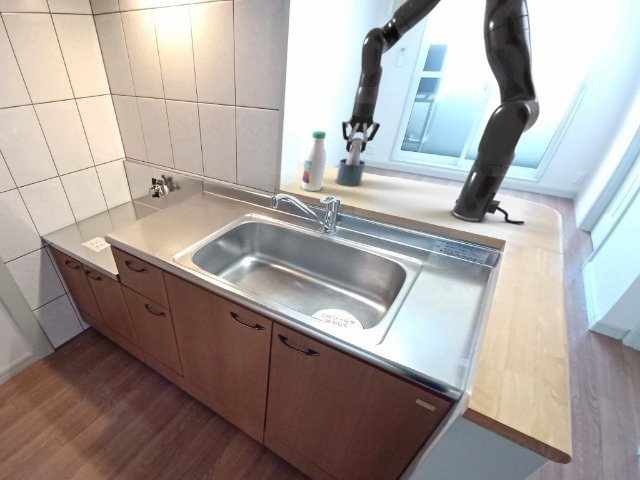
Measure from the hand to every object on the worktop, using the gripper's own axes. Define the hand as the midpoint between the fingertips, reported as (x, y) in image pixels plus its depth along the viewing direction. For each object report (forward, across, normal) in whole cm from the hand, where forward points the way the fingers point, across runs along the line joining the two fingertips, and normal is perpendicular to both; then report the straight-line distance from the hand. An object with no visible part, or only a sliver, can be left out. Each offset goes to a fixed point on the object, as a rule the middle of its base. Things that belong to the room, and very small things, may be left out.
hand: (354, 151), depth 126 cm
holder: (+12, 0, 0) cm, 12 cm away
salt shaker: (+8, 0, 0) cm, 8 cm away
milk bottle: (+12, -15, -10) cm, 22 cm away
